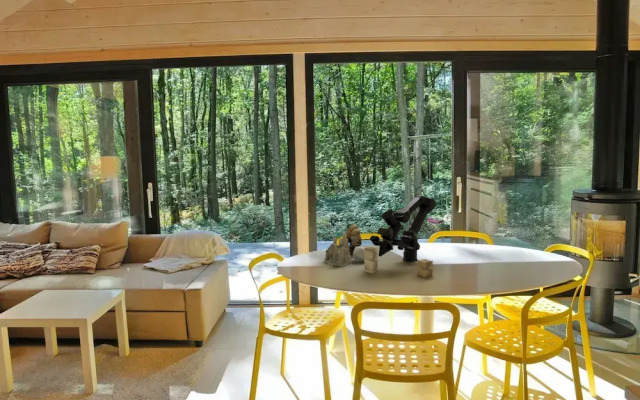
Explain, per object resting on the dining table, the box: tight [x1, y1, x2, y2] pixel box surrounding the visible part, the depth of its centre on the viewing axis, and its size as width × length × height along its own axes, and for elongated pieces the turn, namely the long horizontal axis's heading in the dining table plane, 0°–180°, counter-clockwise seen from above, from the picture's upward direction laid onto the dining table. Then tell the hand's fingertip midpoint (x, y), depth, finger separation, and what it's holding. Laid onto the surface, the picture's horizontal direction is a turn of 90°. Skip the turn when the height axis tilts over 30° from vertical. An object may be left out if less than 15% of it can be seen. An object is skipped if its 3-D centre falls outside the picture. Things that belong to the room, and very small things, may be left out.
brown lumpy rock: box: [345, 224, 363, 257], centre depth 262 cm, size 18×12×17 cm, turn 1°
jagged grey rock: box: [323, 234, 352, 267], centre depth 242 cm, size 16×16×15 cm
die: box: [352, 246, 366, 263], centre depth 244 cm, size 8×9×10 cm
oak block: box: [416, 258, 434, 278], centre depth 215 cm, size 5×5×7 cm
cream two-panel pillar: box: [364, 245, 379, 274], centre depth 222 cm, size 5×4×12 cm
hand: (379, 255), depth 226 cm, fingers closed
